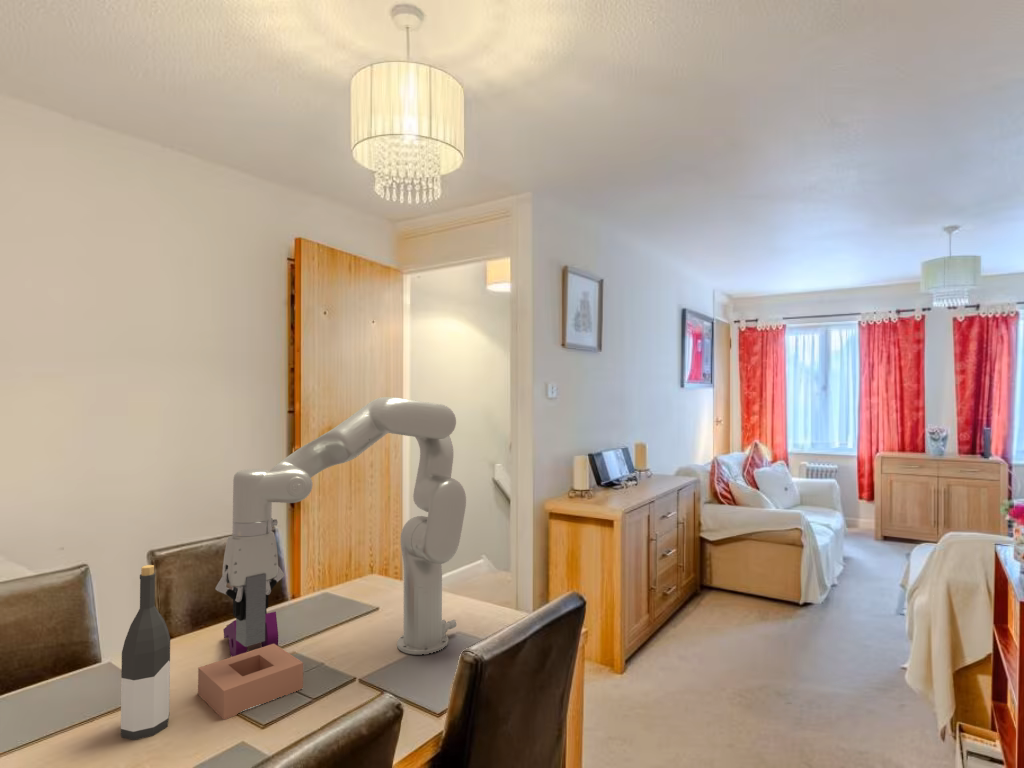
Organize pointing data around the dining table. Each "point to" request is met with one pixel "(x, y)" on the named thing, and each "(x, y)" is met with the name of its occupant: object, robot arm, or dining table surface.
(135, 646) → the wine bottle
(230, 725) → the dining table surface
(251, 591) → the steel bar
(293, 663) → the well holder
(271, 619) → the mounting bracket
